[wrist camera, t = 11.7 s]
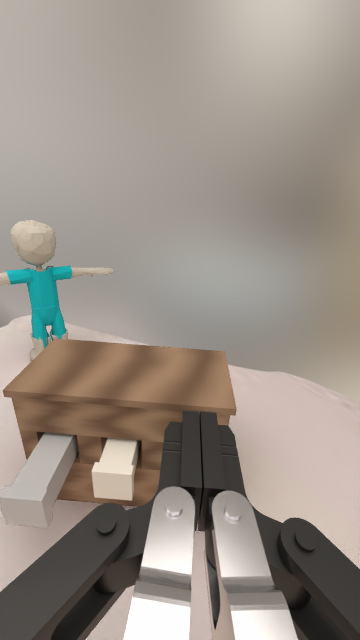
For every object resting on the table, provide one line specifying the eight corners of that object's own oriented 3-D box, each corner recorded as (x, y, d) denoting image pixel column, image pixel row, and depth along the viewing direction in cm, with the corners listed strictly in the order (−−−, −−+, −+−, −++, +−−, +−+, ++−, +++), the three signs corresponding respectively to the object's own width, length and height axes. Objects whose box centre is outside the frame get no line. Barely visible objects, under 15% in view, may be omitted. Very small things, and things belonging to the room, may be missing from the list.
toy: (107, 335, 73) (100, 218, 61) (121, 350, 67) (117, 222, 54) (-32, 367, 57) (-78, 216, 45) (-31, 392, 50) (-86, 222, 38)
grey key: (6, 524, 25) (-3, 497, 23) (52, 444, 33) (48, 420, 31) (47, 527, 24) (41, 501, 23) (84, 446, 33) (81, 422, 31)
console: (31, 500, 33) (2, 390, 26) (68, 431, 43) (54, 338, 36) (216, 516, 33) (236, 409, 26) (211, 443, 43) (224, 351, 36)
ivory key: (94, 497, 27) (91, 471, 26) (117, 429, 35) (116, 406, 34) (131, 500, 27) (131, 474, 26) (146, 431, 35) (146, 409, 34)
